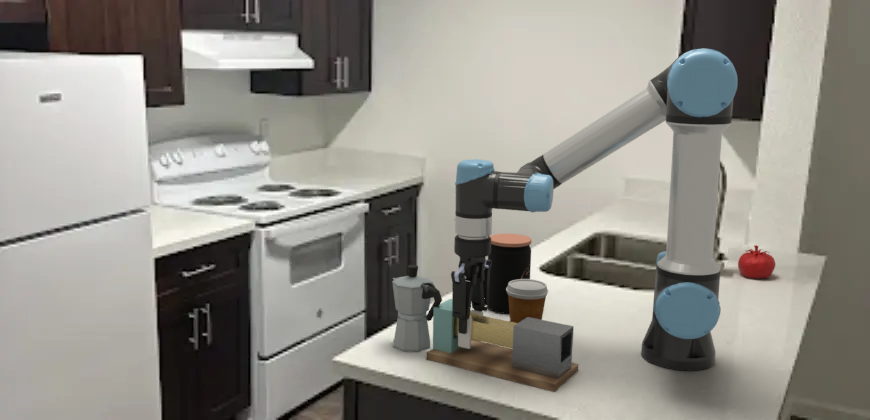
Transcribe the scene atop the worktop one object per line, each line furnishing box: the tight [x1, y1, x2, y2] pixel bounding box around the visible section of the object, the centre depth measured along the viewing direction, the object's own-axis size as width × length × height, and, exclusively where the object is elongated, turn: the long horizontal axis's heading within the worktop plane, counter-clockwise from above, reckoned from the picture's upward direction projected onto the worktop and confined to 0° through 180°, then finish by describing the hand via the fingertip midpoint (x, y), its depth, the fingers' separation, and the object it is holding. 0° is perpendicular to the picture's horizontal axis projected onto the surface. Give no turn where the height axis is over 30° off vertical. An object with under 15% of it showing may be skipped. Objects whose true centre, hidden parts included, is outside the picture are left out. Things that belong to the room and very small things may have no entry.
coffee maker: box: [392, 264, 443, 353], centre depth 175 cm, size 15×9×18 cm, turn 45°
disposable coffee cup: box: [506, 278, 549, 323], centre depth 184 cm, size 10×10×12 cm
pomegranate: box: [737, 244, 776, 280], centre depth 235 cm, size 10×10×9 cm
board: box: [425, 340, 579, 393], centre depth 167 cm, size 29×12×2 cm, turn 59°
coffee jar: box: [487, 233, 532, 315], centre depth 202 cm, size 11×11×18 cm
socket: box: [432, 298, 461, 353], centre depth 172 cm, size 4×7×9 cm, turn 149°
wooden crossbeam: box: [453, 313, 517, 349], centre depth 167 cm, size 20×4×4 cm, turn 59°
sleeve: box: [512, 317, 574, 379], centre depth 162 cm, size 10×7×9 cm, turn 59°
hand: (470, 343), depth 171 cm, fingers closed on wooden crossbeam, 4 cm apart
